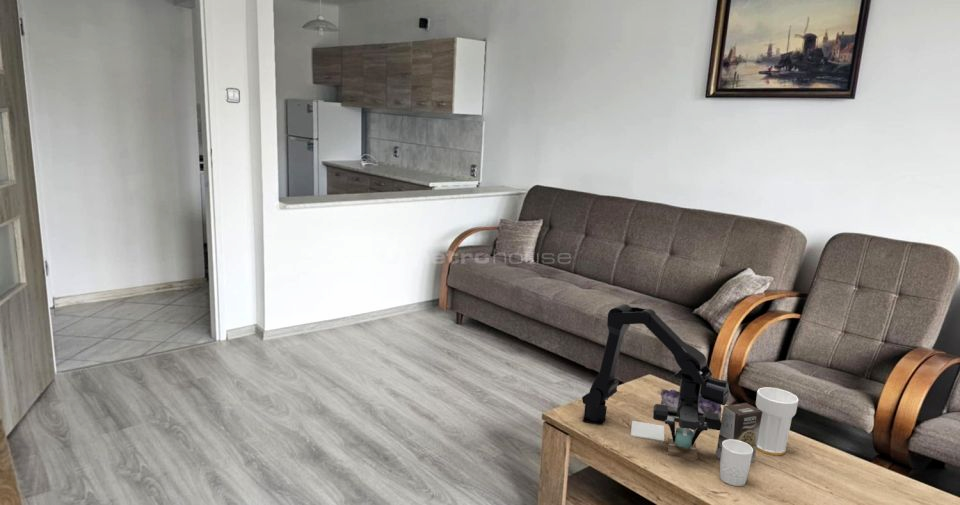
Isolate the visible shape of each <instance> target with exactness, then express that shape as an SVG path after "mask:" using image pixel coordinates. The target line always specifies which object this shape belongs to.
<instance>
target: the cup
mask: <svg viewBox="0 0 960 505" xmlns="http://www.w3.org/2000/svg"><path fill="white" fill-rule="evenodd" d="M755 399H756V400H755V406H756V408H757V409H759V410H761V411H762V417H761V423H760V429H759V435H758V441H757V447H756V451H757V450H758V451H759V452H761V453H763V454H766V455H768V456H769V455H770V456H776V457H777V456H783V455H785V454H786V451H787V444H788V439H789V434H790V429H791V426H792V425H791V424H792V419H793V418H794V416H795V415H796V414H797V410H798V405H799V400H800V399H799V398H798V396H797V395H796V394H794V393H792V392H790V391H788V390H786V389H780V388H778V387H771V386H768V387H761V388H758V389H757V392H756V398H755Z"/></svg>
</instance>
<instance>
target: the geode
mask: <svg viewBox="0 0 960 505" xmlns="http://www.w3.org/2000/svg"><path fill="white" fill-rule="evenodd" d="M660 398H661V400H660V403H659V404H660V405H667V406H668V410H672V411H677V406H678V398H679V391H677V390H676V389H673V388H672V389H670V390H668V389H661V392H660ZM698 411H699V412H700V413H706V412H710V413H716V414H719V416H720V419H722V405H720V404H717V403H714V402H711V401H707V400H704V399H703V398H702V397H701V394H700V397H699V405H698ZM675 420H678V421H679V418H675Z"/></svg>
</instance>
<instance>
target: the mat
mask: <svg viewBox="0 0 960 505" xmlns="http://www.w3.org/2000/svg"><path fill="white" fill-rule="evenodd" d="M630 428H631V430H630V437H633V438H634V437H635V438H640V439H645V440H650V441H657V442H663V443H665V425H661V424H660V425H659V424H654V423H648V422H643V421H642V422H641V421H635V420H631V427H630Z"/></svg>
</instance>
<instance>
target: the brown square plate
mask: <svg viewBox="0 0 960 505" xmlns="http://www.w3.org/2000/svg"><path fill="white" fill-rule="evenodd" d="M697 450H698V449H697V442H695V443H694V444H693V446H692V445H691V447H689V448H683V447H680V446H677V445H676V444H675V443H674V442H673V439H672V437H671V438H670V437H669V438H667V455H668V456H669V457H675V458H681V459H687V460H691V461H698V451H697Z"/></svg>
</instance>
